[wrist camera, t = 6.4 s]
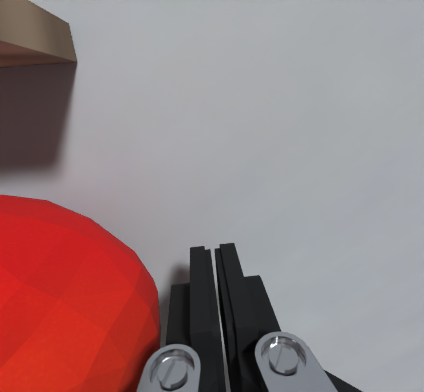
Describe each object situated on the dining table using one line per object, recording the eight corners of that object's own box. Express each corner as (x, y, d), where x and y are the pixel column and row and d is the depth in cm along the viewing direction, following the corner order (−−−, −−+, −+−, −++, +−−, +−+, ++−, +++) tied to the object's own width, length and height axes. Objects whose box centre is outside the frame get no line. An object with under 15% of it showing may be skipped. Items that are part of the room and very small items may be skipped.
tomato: (-112, 195, 11) (-828, 438, 3) (136, 141, 11) (11, 257, 3) (-2, 357, 14) (-230, 671, 7) (188, 316, 14) (188, 580, 7)
